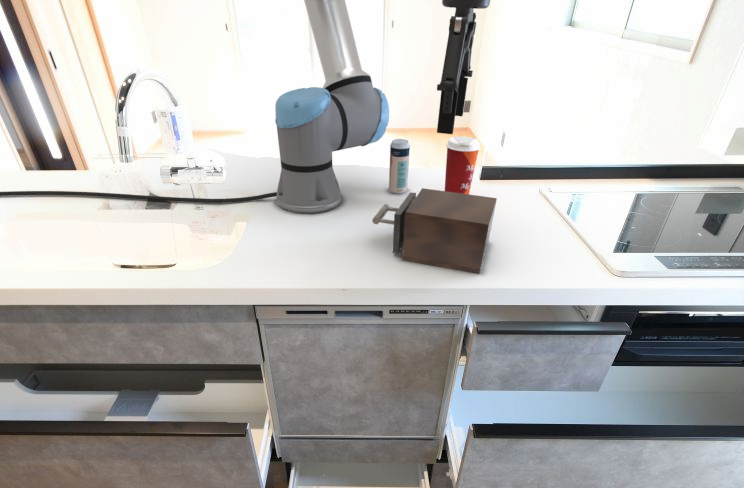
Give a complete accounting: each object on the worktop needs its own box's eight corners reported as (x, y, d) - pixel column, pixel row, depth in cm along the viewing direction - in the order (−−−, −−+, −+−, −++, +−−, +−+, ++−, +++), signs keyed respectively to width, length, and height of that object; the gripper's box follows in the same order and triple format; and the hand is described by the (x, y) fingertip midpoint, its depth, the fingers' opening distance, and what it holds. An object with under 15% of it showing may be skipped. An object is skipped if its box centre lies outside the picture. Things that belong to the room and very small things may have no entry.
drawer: (368, 248, 86) (368, 209, 81) (385, 225, 95) (386, 188, 90) (462, 264, 82) (469, 225, 77) (471, 238, 90) (478, 201, 85)
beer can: (395, 186, 115) (398, 137, 108) (410, 190, 113) (414, 141, 106) (384, 191, 112) (386, 141, 105) (399, 196, 110) (402, 145, 103)
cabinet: (402, 260, 85) (405, 212, 79) (418, 232, 94) (422, 188, 88) (479, 273, 81) (489, 224, 75) (487, 244, 90) (496, 198, 85)
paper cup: (471, 208, 105) (481, 146, 96) (438, 205, 106) (445, 143, 97) (471, 196, 111) (481, 136, 102) (441, 193, 112) (448, 134, 103)
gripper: (486, -25, 59) (462, 144, 72) (498, -23, 77) (477, 110, 91) (430, -26, 60) (416, 139, 73) (455, -24, 79) (441, 107, 92)
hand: (450, 123), depth 82 cm, fingers open, 13 cm apart
